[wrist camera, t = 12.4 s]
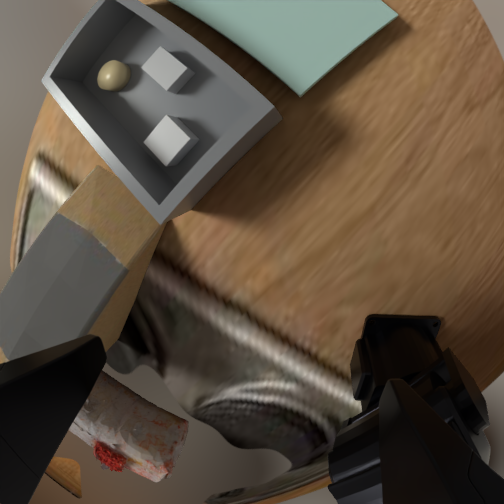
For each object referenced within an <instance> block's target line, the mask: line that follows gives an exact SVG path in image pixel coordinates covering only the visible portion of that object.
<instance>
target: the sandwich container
mask: <svg viewBox="0 0 504 504" xmlns="http://www.w3.org/2000/svg"><path fill="white" fill-rule="evenodd" d="M166 223H167V222H165V223H163V224H161V225H160V224H159V223H158V222H157V221H156V219H155V218H154V217H153V216H152V215H151V214H150V213H149V212H148V211H147V209H146V208H145V207H144V206H143V205H142V204H141V203H140V202H139V200H138V199H137V198H136V197H135V196H134V195H133V194H132V192H131V191H130V190H129V189H128V188H127V187H126V186H125V184H124V183H123V182H122V181H121V180H120V179H119V178H118V177H117V176H115V175H114V174H112V173H110V172H109V171H107V170H105V169H104V168H102V167H100V166H98V165H97V166H96V167H95V168H94V169H93V170H92V171H91V172H90V174H89V175H88V176H87V177H86V178H85V179H84V180H83V181H82V182H81V184H80V185H79V186H78V187H77V188H76V189H75V190H74V192H73V193H72V194H71V195H70V196H69V198H68V199H67V200H66V201H65V202H64V204H63V205H62V206H61V207H60V209H59V210H58V211H57V212H56V214H55V215H54V216H53V217H52V219H51V220H50V221H49V222H48V224H47V225H46V226H45V228H44V229H43V230H42V232H41V233H40V234H39V236H38V237H37V239H36V240H35V241H34V243H33V244H32V246H31V247H30V248H29V250H28V251H27V253H26V254H25V255H24V257H23V258H22V260H21V261H20V263H19V264H18V266H17V267H16V269H15V270H14V272H13V273H12V275H11V276H10V278H9V280H8V281H7V283H6V285H5V286H4V288H3V290H2V291H1V293H0V364H1V363H4V362H7V361H10V360H13V359H16V358H20V357H23V356H26V355H29V354H32V353H35V352H38V351H41V350H44V349H47V348H50V347H53V346H56V345H59V344H62V343H65V342H68V341H70V340H73V339H76V338H79V337H82V336H85V335H88V334H93V335H96V336H99V337H100V338H101V339H102V342H103V345H104V349H105V352H106V351H107V350H108V349H109V348H110V347H111V346H112V345H113V344H114V343H115V342H116V341H117V340H118V339H119V336H120V334H121V331H122V329H123V327H124V324H125V322H126V320H127V317H128V315H129V313H130V310H131V308H132V306H133V304H134V301H135V299H136V296H137V293H138V291H139V288H140V286H141V283H142V280H143V278H144V275H145V273H146V270H147V268H148V265H149V263H150V260H151V258H152V256H153V253H154V251H155V248H156V246H157V244H158V241H159V239H160V237H161V235H162V232H163V230H164V228H165V225H166Z"/></svg>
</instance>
